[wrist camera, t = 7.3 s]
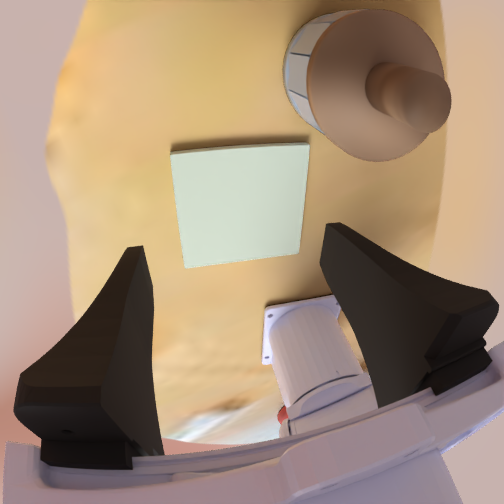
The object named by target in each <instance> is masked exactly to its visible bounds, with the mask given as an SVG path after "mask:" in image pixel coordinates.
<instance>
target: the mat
mask: <svg viewBox="0 0 504 504" xmlns="http://www.w3.org/2000/svg"><path fill="white" fill-rule="evenodd" d="M309 150H310V145H309V144H308V143H307V142H301V143H271V144H252V145H237V146H223V147H212V148H201V149H191V150H182V151H174V152H170V158H171V168H172V177H173V185H174V194H175V202H176V210H177V217H178V225H179V232H180V239H181V246H182V253H183V259H184V266H185V268H193V267H200V266H208V265H216V264H223V263H231V262H239V261H246V260H254V259H261V258H269V257H276V256H284V255H291V254H299V247H300V238H301V230H302V221H303V211H304V202H305V192H306V182H307V172H308V161H309Z"/></svg>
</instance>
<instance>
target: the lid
mask: <svg viewBox="0 0 504 504" xmlns="http://www.w3.org/2000/svg"><path fill="white" fill-rule="evenodd" d="M306 90H307V97H308V102H309V106H310V109H311V112H312V114H313V116H314V119H315V121H316V123H317V124H318V126H319V127H320V129H321V130H322V132H323V133H324V134H325V135H326V137H327V138H328V139H330V140H331V141H332V142H333V143H334V144H335V145H337V146H338V147H339V148H341V149H342V150H343V151H345V152H346V153H348V154H350V155H352V156H354V157H356V158H359V159H362V160H366V161H373V162H381V161H389V160H393V159H396V158H399V157H401V156H404V155H405V154H407V153H409V152H411V151H412V150H413V149H415V148H416V147H417V146H418V145H419V144H420V143H422V142H423V141H424V139H425V138H426V137H427V136H428V135H429V133H432V132H434V131H436V130H438V129H439V128H440V127H441V126H442V125H443V124H444V123H445V121H446V120H447V118H448V116H449V113H450V109H451V93H450V89H449V87H448V85H447V83H446V81H445V80H444V71H443V66H442V62H441V59H440V56H439V54H438V51H437V49H436V47H435V45H434V44H433V42H432V41H431V39H430V38H429V36H428V35H427V34H426V33H425V31H424V30H423V29H422V28H421V27H420V26H418V25H417V24H416V23H415V22H413V21H412V20H410V19H409V18H407V17H405V16H403V15H401V14H399V13H396V12H393V11H388V10H361V11H355V12H352V13H349V14H346V15H345V16H343V17H341V18H339V19H337V20H336V21H335V22H333V23H332V24H331V25H330V26H329V27H328V28H327V29H326V30H325V31H324V32H323V33H322V35H321V36H320V37H319V39H318V40H317V42H316V44H315V46H314V48H313V50H312V53H311V55H310V58H309V62H308V67H307V75H306Z"/></svg>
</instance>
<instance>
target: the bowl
mask: <svg viewBox="0 0 504 504" xmlns="http://www.w3.org/2000/svg"><path fill="white" fill-rule="evenodd" d="M361 10H369V9H360V10H346V11H339V12H336V13H330V14H325V15H322V16H319V17H317V18H315V19H313V20H311V21H309V22H308V23H306V24H305V25H304V26H303V27H302V28H300V29H299V30H298V31H297V33H296V34H295V35H294V37H293V38H292V40H291V42H290V43H289V45H288V48H287V50H286V53H285V57H284V61H283V82H284V87H285V91H286V94H287V96H288V99H289V101H290V103H291V104H292V106H293V108H294V109H295V111H296V112H297V113H298V114H299V115H300V117H302V118H303V119H304V120H305V121H306V122H307V123H308V124H310V125H311V126H313V127H314V128H316V129H317V130H319V131H320V132H321V133H323V132H322V130H321V129H320V127H319V126H318V124H317V123H316V121H315V119H314V116H313V114H312V112H311V109H310V106H309V102H308V97H307V90H306V75H307V67H308V62H309V58H310V55H311V53H312V50H313V48H314V46H315V44H316V42H317V40H318V39H319V37H320V36H321V35H322V33H323V32H324V31H325V30H326V29H327V28H328V27H329V26H330V25H331V24H332V23H333V22H335V21H336V20H337V19H339V18H341V17H343V16H345V15H346V14H349V13H352V12H355V11H361ZM323 134H324V133H323ZM324 135H325V134H324Z"/></svg>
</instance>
